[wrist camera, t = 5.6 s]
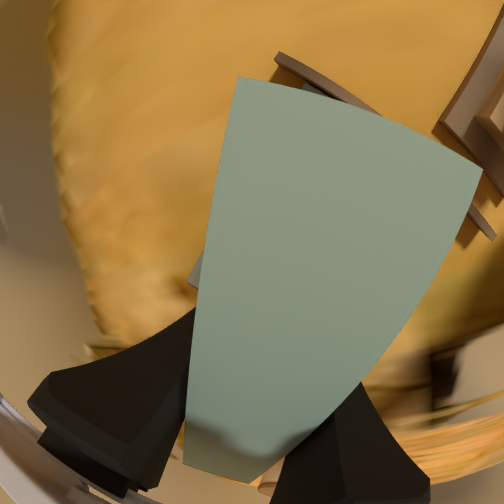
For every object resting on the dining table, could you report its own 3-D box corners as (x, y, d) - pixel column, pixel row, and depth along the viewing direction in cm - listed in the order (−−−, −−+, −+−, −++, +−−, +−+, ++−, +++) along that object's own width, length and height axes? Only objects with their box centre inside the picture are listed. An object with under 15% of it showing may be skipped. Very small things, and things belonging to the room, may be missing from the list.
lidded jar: (320, 444, 34) (312, 497, 25) (334, 463, 37) (328, 507, 29) (257, 446, 38) (243, 493, 30) (279, 465, 41) (269, 506, 33)
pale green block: (372, 130, 9) (483, 169, 2) (278, 365, 16) (248, 484, 9) (294, 105, 10) (238, 76, 3) (229, 350, 17) (182, 463, 10)
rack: (569, 51, 4) (581, 51, 2) (479, 229, 15) (492, 241, 13) (412, -95, 2) (417, -105, 1) (278, 65, 14) (273, 59, 12)
